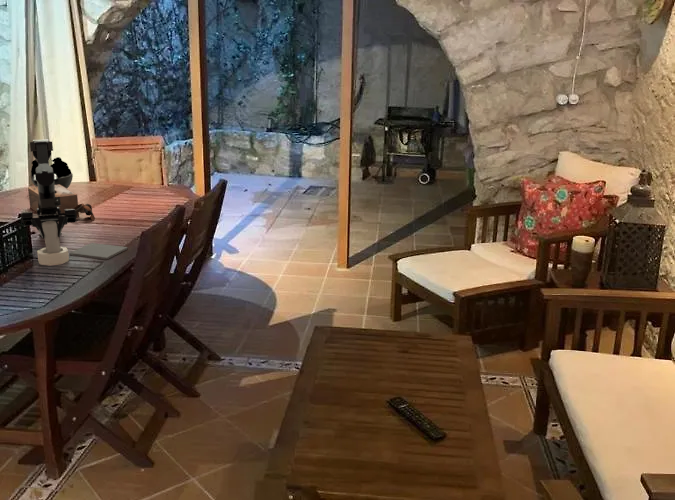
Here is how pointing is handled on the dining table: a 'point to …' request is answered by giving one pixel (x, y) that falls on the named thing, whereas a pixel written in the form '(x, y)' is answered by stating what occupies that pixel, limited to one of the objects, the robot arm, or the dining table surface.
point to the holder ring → (52, 257)
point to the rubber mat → (98, 251)
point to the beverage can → (51, 237)
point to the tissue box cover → (66, 196)
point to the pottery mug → (84, 210)
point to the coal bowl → (56, 172)
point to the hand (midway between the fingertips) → (51, 237)
